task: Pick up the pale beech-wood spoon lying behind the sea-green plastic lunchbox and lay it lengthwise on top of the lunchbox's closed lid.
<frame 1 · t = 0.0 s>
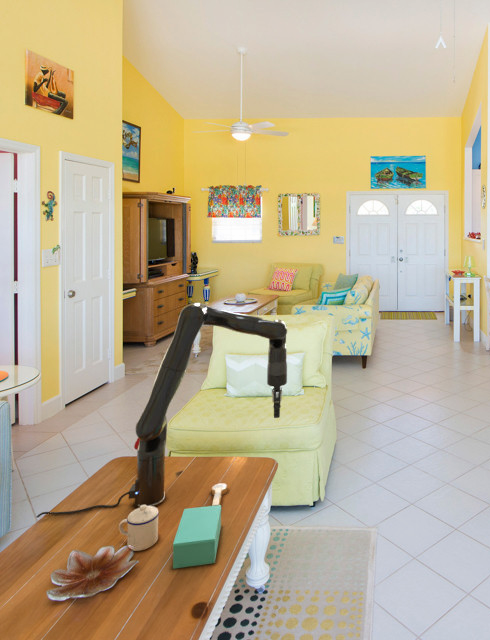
hand: (276, 413, 181), 29 cm above the table, tool pointing down, fingers open, 8 cm apart
lunchbox: (198, 546, 146), on the table
lunchbox lid: (198, 524, 145), point 7 cm above the table, hinge at 0.0°
teacup with lid: (138, 543, 147), on the table
spoon: (217, 500, 172), on the table
decorative mushroom: (146, 467, 196), on the table
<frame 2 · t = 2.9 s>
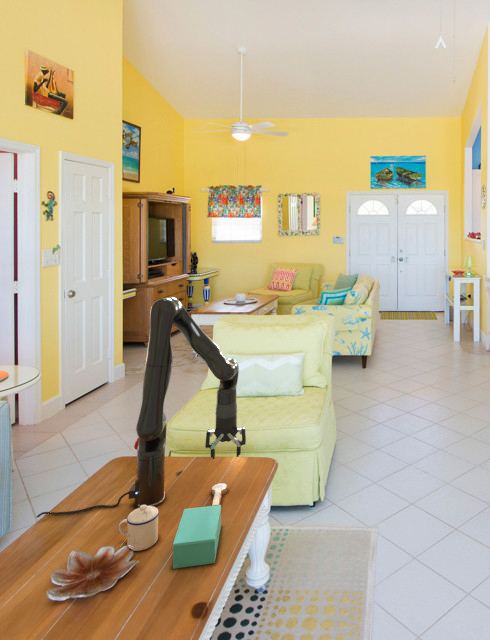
hand: (225, 457, 173), 16 cm above the table, tool pointing down, fingers open, 8 cm apart
nothing on the table moved.
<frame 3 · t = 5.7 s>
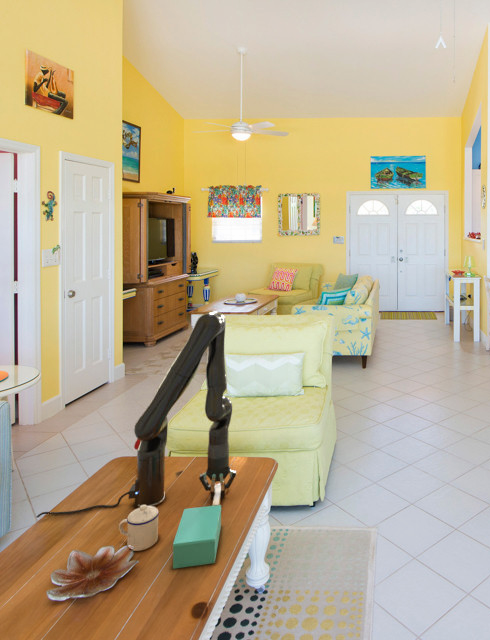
hand: (217, 499, 172), 0 cm above the table, tool pointing down, fingers closed on spoon, 2 cm apart
spoon: (217, 500, 172), on the table, touching gripper
everything else where it was.
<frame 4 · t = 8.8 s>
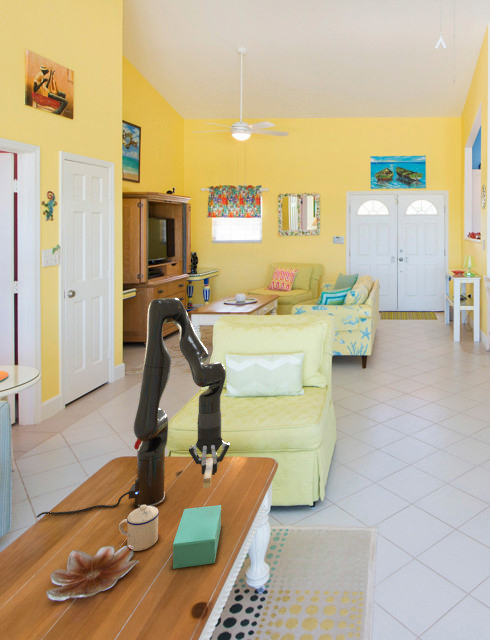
hand: (209, 474, 157), 17 cm above the table, tool pointing down, fingers closed on spoon
spoon: (209, 474, 157), point 17 cm above the table, touching gripper
everything else where it was.
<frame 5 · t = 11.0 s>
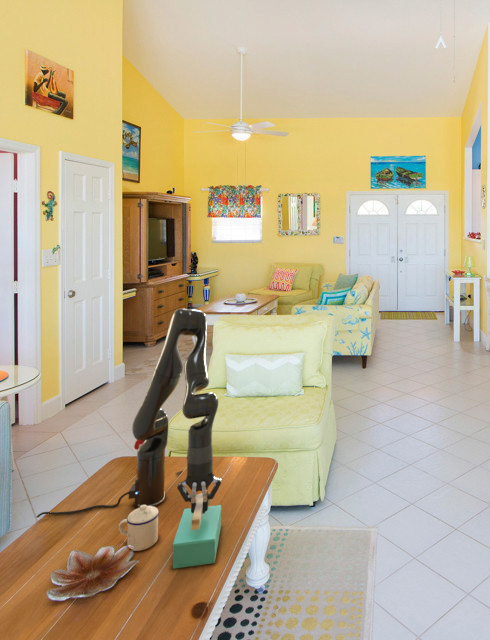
hand: (199, 512, 146), 11 cm above the table, tool pointing down, fingers closed on spoon, 2 cm apart
spoon: (199, 513, 146), point 10 cm above the table, touching gripper
everything else where it was.
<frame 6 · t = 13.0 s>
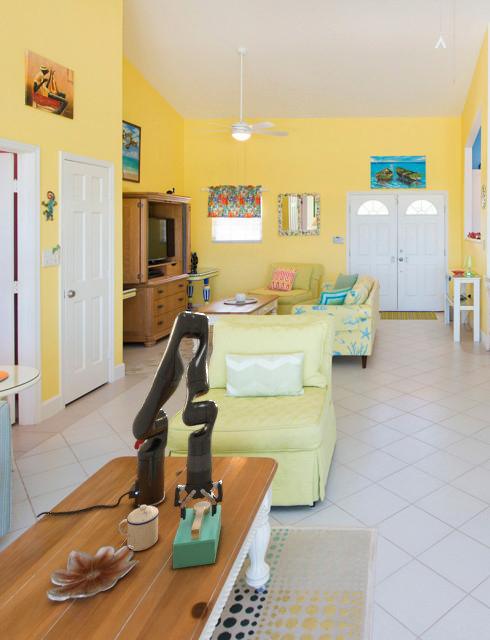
hand: (198, 516, 146), 9 cm above the table, tool pointing down, fingers open, 8 cm apart
lunchbox lid: (198, 524, 145), point 7 cm above the table, hinge at -0.2°, touching lunchbox
spoon: (199, 522, 146), point 8 cm above the table
everything else where it was.
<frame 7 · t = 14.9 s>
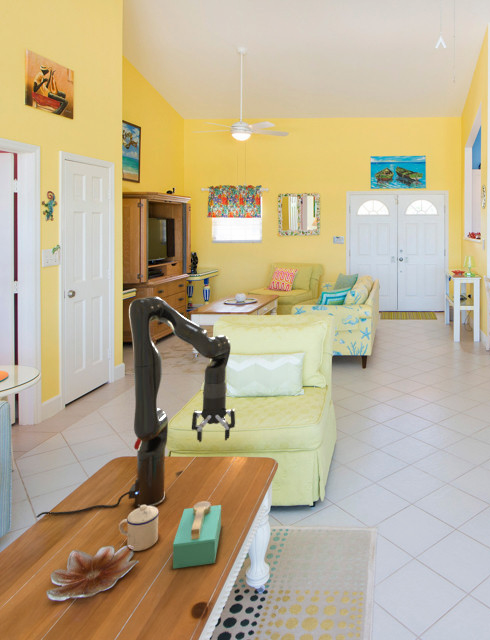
hand: (213, 440, 162), 27 cm above the table, tool pointing down, fingers open, 8 cm apart
lunchbox lid: (198, 524, 145), point 7 cm above the table, hinge at -0.2°, touching lunchbox, spoon
spoon: (199, 522, 146), point 8 cm above the table, touching lunchbox lid
everything else where it was.
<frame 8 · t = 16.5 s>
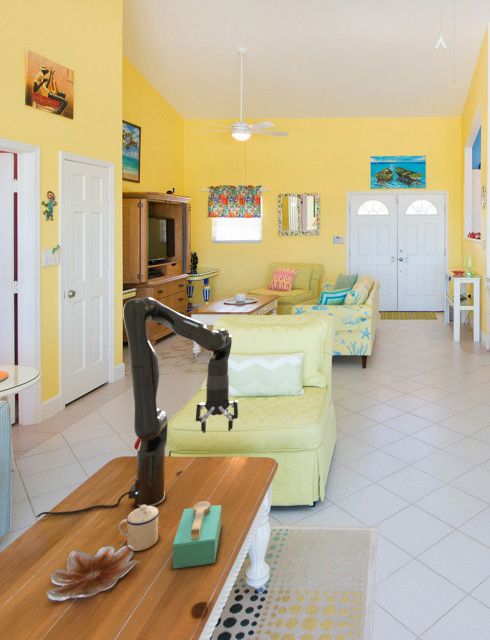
hand: (217, 431, 166), 28 cm above the table, tool pointing down, fingers open, 8 cm apart
nothing on the table moved.
at the end: spoon inside the target area on the lunchbox (0.1 cm from its centre), point 7.6 cm above the lunchbox's base; spoon touching lunchbox lid; the gripper is holding nothing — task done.
